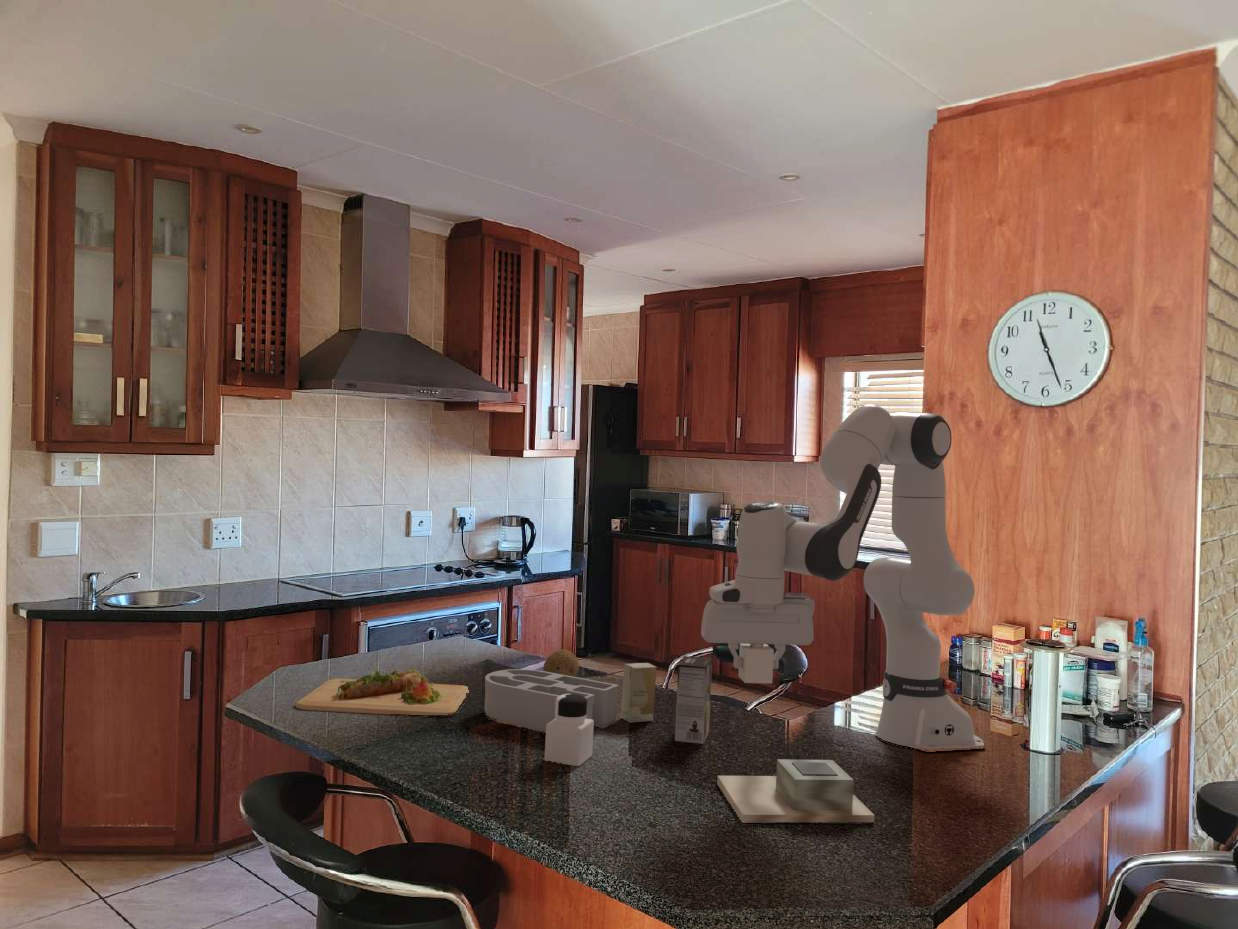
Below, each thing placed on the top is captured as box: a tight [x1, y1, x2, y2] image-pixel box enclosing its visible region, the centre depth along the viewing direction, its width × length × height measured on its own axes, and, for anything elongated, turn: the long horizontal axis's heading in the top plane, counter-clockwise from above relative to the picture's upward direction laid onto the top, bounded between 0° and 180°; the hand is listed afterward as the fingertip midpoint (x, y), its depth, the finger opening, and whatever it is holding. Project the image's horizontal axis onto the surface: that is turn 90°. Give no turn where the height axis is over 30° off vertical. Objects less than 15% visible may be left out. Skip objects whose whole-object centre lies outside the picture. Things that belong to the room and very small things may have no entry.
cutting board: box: [295, 669, 469, 716], centre depth 208 cm, size 35×23×8 cm
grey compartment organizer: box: [484, 668, 619, 732], centre depth 197 cm, size 17×28×9 cm, turn 61°
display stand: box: [716, 758, 875, 824], centre depth 155 cm, size 22×18×7 cm
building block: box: [737, 643, 775, 684], centre depth 164 cm, size 5×5×7 cm
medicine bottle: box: [544, 694, 595, 767], centre depth 172 cm, size 7×7×12 cm
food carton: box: [674, 655, 713, 745], centre depth 191 cm, size 9×6×16 cm
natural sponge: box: [542, 649, 580, 677], centre depth 224 cm, size 9×9×10 cm
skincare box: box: [620, 662, 657, 724], centre depth 201 cm, size 6×4×12 cm
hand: (755, 668), depth 164 cm, fingers closed on building block, 5 cm apart
